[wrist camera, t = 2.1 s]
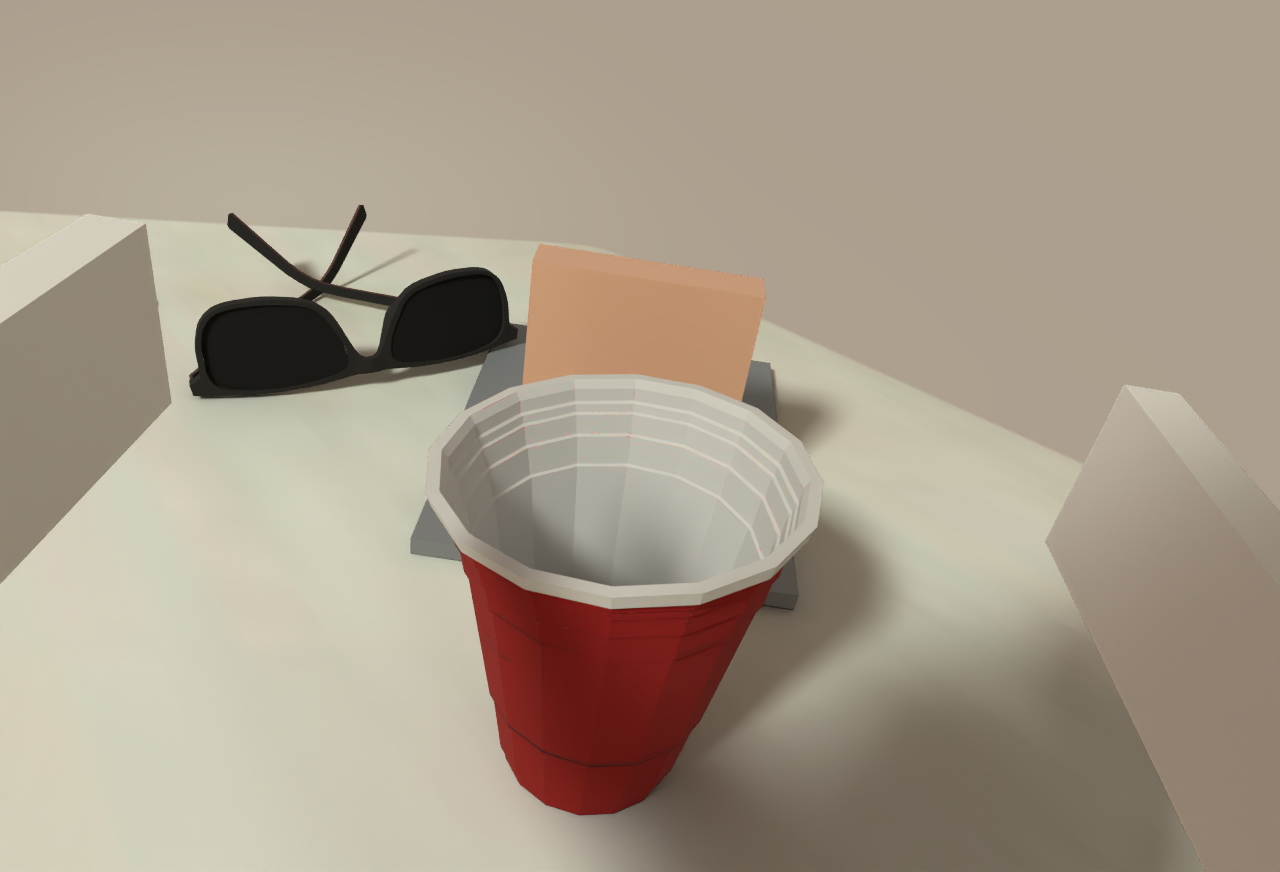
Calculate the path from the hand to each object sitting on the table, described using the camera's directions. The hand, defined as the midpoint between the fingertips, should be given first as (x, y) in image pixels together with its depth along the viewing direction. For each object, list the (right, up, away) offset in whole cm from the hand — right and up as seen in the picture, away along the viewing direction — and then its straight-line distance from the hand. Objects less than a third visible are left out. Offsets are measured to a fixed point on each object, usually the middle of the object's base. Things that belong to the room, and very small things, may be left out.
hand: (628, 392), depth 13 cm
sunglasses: (-17, +6, +40) cm, 44 cm away
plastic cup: (-2, -11, +19) cm, 22 cm away
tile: (-1, -3, +29) cm, 30 cm away
